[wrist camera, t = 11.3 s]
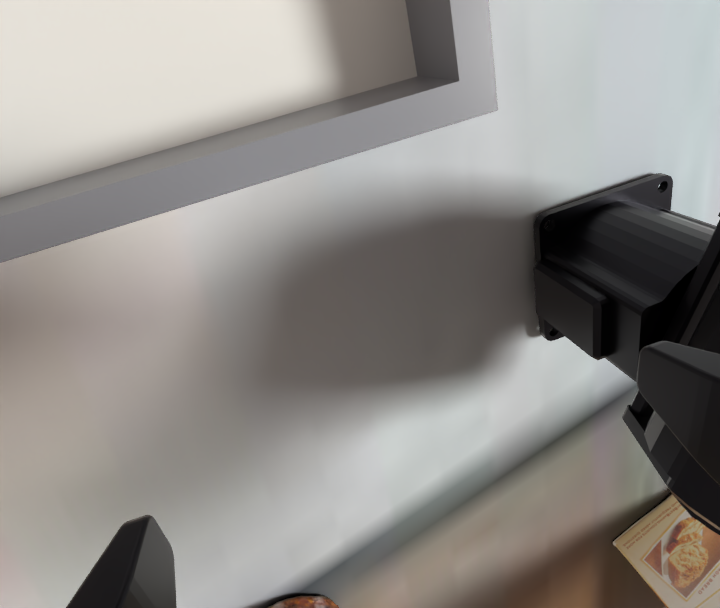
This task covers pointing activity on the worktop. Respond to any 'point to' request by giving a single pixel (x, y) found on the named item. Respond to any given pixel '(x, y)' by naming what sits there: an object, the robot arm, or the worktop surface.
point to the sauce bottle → (306, 602)
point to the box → (213, 98)
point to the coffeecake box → (675, 556)
